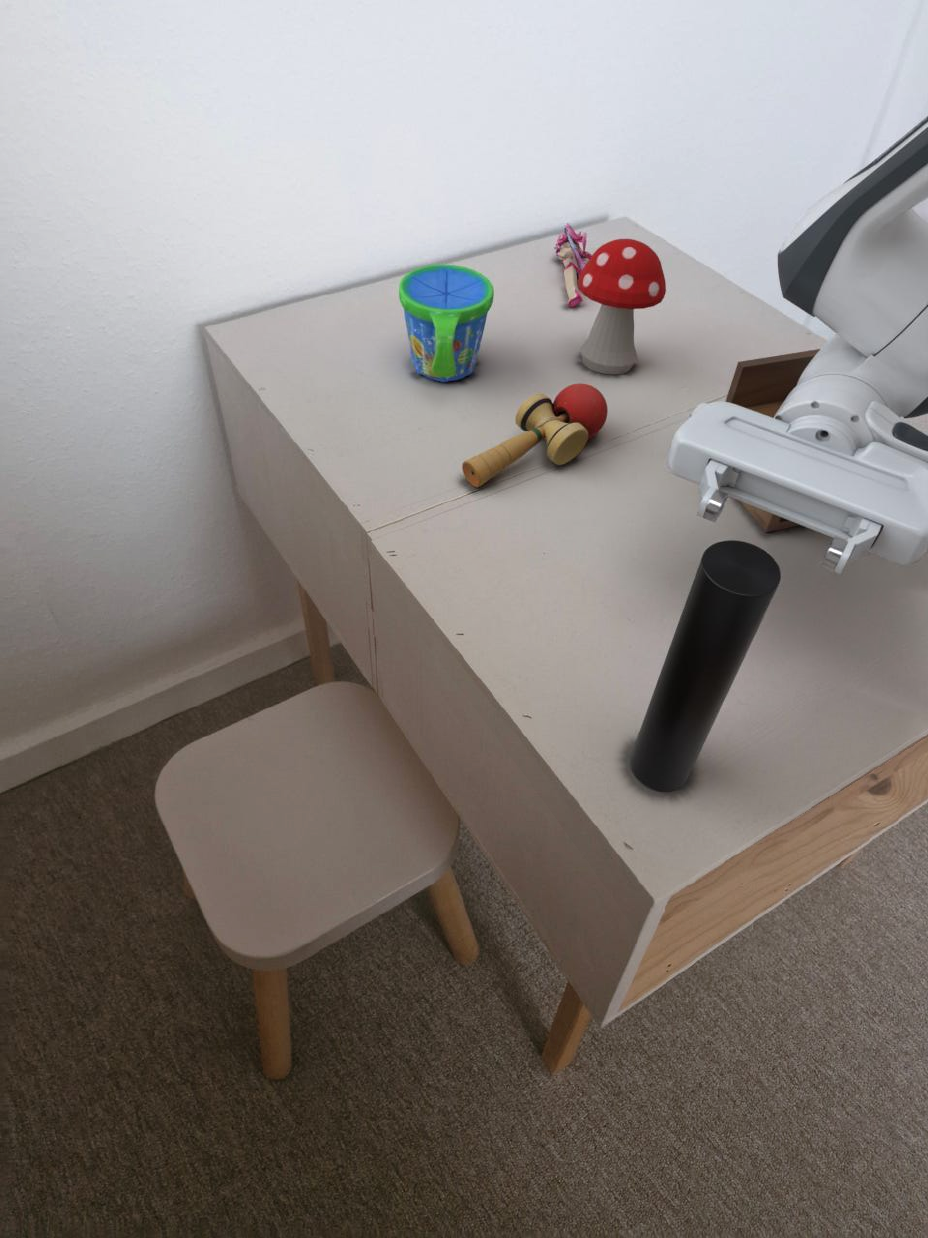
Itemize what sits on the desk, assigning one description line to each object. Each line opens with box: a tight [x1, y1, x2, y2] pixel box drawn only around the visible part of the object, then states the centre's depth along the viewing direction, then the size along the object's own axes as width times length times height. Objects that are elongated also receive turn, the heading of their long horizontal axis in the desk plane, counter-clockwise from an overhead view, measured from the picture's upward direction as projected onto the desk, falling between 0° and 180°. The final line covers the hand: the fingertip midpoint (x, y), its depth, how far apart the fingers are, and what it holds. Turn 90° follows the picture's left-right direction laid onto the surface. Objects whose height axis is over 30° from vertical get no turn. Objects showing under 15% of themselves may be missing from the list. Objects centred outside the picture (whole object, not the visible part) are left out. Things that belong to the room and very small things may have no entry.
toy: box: [553, 222, 593, 308], centre depth 115 cm, size 7×6×15 cm
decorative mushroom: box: [577, 238, 667, 376], centre depth 98 cm, size 10×9×15 cm
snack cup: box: [398, 264, 495, 383], centre depth 97 cm, size 16×10×10 cm
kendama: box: [461, 382, 609, 488], centre depth 89 cm, size 8×6×18 cm
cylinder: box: [629, 539, 782, 792], centre depth 58 cm, size 5×5×22 cm
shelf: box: [724, 348, 821, 533], centre depth 85 cm, size 12×11×12 cm
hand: (769, 537), depth 61 cm, fingers open, 8 cm apart
